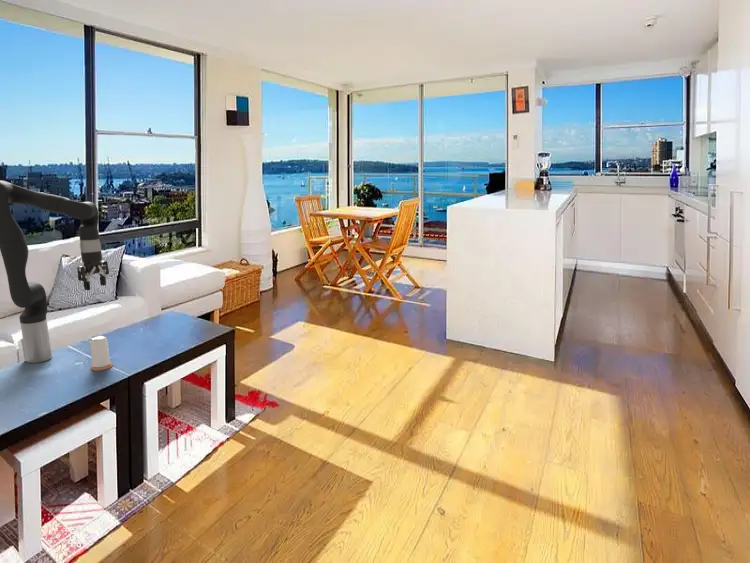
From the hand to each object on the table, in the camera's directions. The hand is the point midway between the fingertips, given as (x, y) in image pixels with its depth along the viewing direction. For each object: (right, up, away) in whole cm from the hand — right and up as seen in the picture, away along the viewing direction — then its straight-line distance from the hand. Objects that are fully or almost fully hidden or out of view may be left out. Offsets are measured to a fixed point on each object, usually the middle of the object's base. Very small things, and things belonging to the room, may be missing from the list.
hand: (95, 287), depth 213 cm
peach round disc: (+7, -33, -7) cm, 34 cm away
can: (+7, -32, -7) cm, 33 cm away
